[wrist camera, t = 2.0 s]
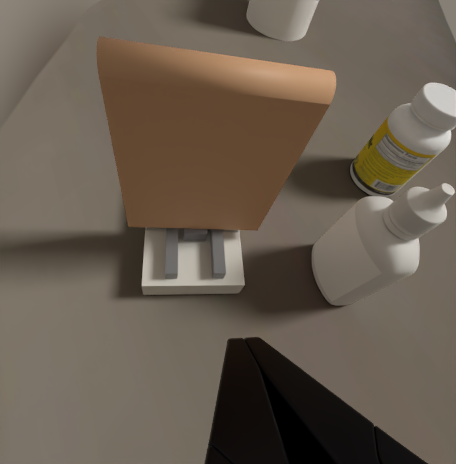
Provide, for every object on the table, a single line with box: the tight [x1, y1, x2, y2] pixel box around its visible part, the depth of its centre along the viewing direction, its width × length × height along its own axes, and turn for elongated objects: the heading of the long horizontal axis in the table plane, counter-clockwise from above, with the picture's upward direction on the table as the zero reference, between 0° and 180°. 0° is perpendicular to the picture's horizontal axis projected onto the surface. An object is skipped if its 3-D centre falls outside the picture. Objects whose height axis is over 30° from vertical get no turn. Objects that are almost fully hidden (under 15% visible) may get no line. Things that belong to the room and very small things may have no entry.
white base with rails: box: [142, 227, 245, 295], centre depth 24 cm, size 15×7×3 cm, turn 4°
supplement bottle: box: [350, 83, 456, 197], centre depth 28 cm, size 5×5×10 cm
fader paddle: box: [97, 37, 336, 240], centre depth 17 cm, size 2×9×13 cm, turn 94°
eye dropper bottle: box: [312, 183, 455, 306], centre depth 20 cm, size 4×6×12 cm
